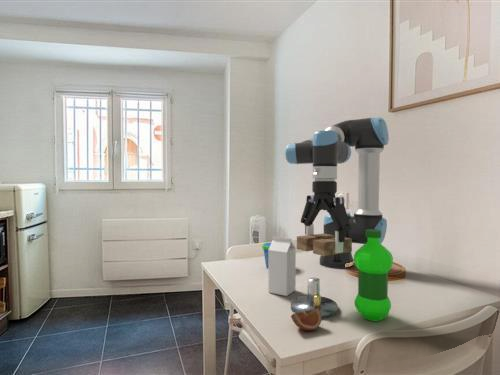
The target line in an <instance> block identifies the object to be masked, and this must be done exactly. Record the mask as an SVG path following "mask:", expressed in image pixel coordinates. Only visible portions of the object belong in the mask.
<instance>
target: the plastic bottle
mask: <svg viewBox="0 0 500 375" xmlns="http://www.w3.org/2000/svg"><path fill="white" fill-rule="evenodd" d="M381 232H382V231H381V230H376V229H367V230H365V236H366V237H367V243H365V244H362V245H361V246H360V247H359V248H358V249H357V250H356V251H355V253H354V255H353V259H354V266H355V267H356V268H357V273H358V277H357V279H358V281H357V282H358V284H357V285H358V286H357V287H358V288H357V289H358V290H357V292H358V293H357V295H356V296H355V299H354V307H355V309H356V311H357V312H358V313H359V314H360V315H361V316H362V317H363V318H364V319H365V320H367V321H372V322H373V321H374V322H379V321H382V320H383V319H384V318H386V317H387V316H388V315H389V313H390V310H391V308H392V303H391V300H390V297H389V296H388V292H389V291H388V289H389V286H388V284H389V280H388V279H389V278H388V277H389V271H390V270H391V269H392V267H393V263H394V257H393V254H392V253H391V252H390V251H389V249H388V248H387V247H385V246H384V245H383V244H382V243H381V244H380V243H379V238H381Z"/></svg>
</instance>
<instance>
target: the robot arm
mask: <svg viewBox="0 0 500 375" xmlns="http://www.w3.org/2000/svg"><path fill="white" fill-rule="evenodd" d="M389 139H390V138H389V130H388V125H387V123H386V121H385V119H384V118H382V117H367V118H366V117H365V118H357V119H348V120H344V121H340V122H338V123H336V124H333V125H331V126H329V127H327V128H326V129H325V130H323V129H322V130H317V131H314V132H313V136H312V137H311V138H308V139H306V140H304V141H301V142H294V143H289V144H287V145H286V147H285V154H284V156H285V159H286V162H288V163H289V164H290V165H291V164H293V165H301V164H302V165H305V164H306V165H307V164H312V179H313V181H312V185H311V186H312V189H311V191H312V193H313V195H308V194H307V195H306V199H305V200H306V201H305V205H304V209H303V212H302V215H301V218H300V223H301V224H304V228H305V229H304V231H305V232H304V234H305V235H304V236H306V235H315V233H314V232H315V226H314V221H315V220H316V218H317V216H318V214H319V213H320V211H322V210H323V211H326V213H328V214H326V215H325V216H324V217H323V234H329V235H334V237H335V253H341V254H334V255H328V256H321V255H319V264H320V265H321V266H323V267H328V268H333V269H346V268H345V264H346V263H350V262H353V261H354V256H353V254H352V252H347V253H342V252H343V242H344V241H345V238H350V239H352V244H359V245H364V244H365V243H367V237H366V236H365V230H367V229H376V230H381V231H382V232H381V238H379V243H380V244H382V243H383V242H384V240H385V238H386V234H387V228H388V223H387V219H386V218H384V217H383V213H382V212H381V210H380V169H381V168H380V167H381V166H380V165H381V163H380V162H381V161H380V156H381V155H380V154H381V153H382V152H383V151H384V150H385V146H386V145H388V144H389V141H390V140H389ZM351 147H354V150H355V152H356V153H357V154H358V170H357V172H358V174H357V175H358V176H357V177H358V178H357V179H358V180H357V181H358V182H357V209H356V210H355V211H354V212H353V216H352V215H351V213H350V212H347V210H346V206H345V198H344V197H343V196H337V197H336V193H337V191H338V183H337V181H336V180H337V179H338V164H344V163H346V162H348V161H349V159H351V156H352V149H351Z"/></svg>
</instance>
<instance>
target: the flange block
mask: <svg viewBox="0 0 500 375" xmlns="http://www.w3.org/2000/svg"><path fill="white" fill-rule="evenodd" d="M352 246H353V243H352V239H350V238H345V241H344V242H343V252H342V253H347V252H351V253H352V252H353V251H352V250H353V247H352ZM296 249H297V250H300V251H303V252H312V253H313V254H314V255H318V256H328V255H334V254H341V253H335V237H334V235H329V234H324V233H316V234H315V233H314V235H299V236H296Z"/></svg>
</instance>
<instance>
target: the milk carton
mask: <svg viewBox="0 0 500 375" xmlns="http://www.w3.org/2000/svg"><path fill="white" fill-rule="evenodd" d="M271 242H272V243H271V245H270V247H269V249H268V272H267V273H268V276H267V278H268V280H267V281H268V282H267V283H268V287H267V288H268V291H267V292H268V293H270V294H275V295H279V296H284V297H288V296H289V295H290V294H292V293H293V292H294V291H296V289H297V288H296V286H297V285H296V283H297V282H296V276H297V275H296V271H297V270H296V267H297V266H296V265H297V264H296V262H297V261H296V254H297V253H296V251H297V250H296V249H297V247H295V245H294V243H293V241H292V238H289V237H280V236H272V241H271Z"/></svg>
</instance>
